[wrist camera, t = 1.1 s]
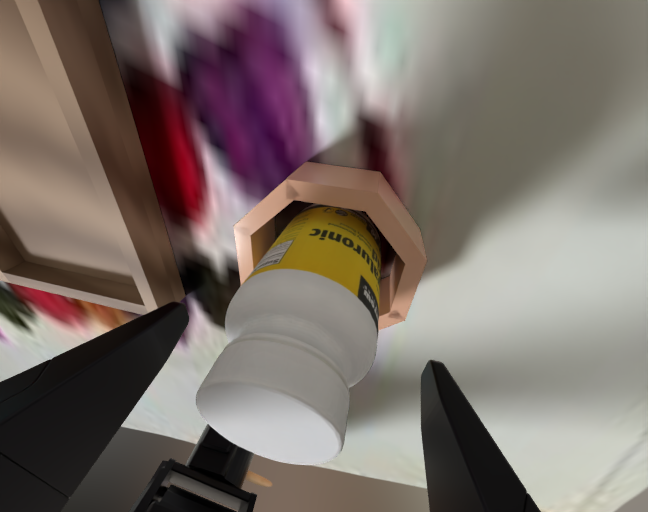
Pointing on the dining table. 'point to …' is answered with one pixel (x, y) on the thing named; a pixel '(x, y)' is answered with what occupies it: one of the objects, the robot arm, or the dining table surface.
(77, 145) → the tray
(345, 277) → the supplement bottle
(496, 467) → the robot arm
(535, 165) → the dining table surface
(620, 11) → the dining table surface
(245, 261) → the tan octagonal bowl
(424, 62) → the dining table surface
